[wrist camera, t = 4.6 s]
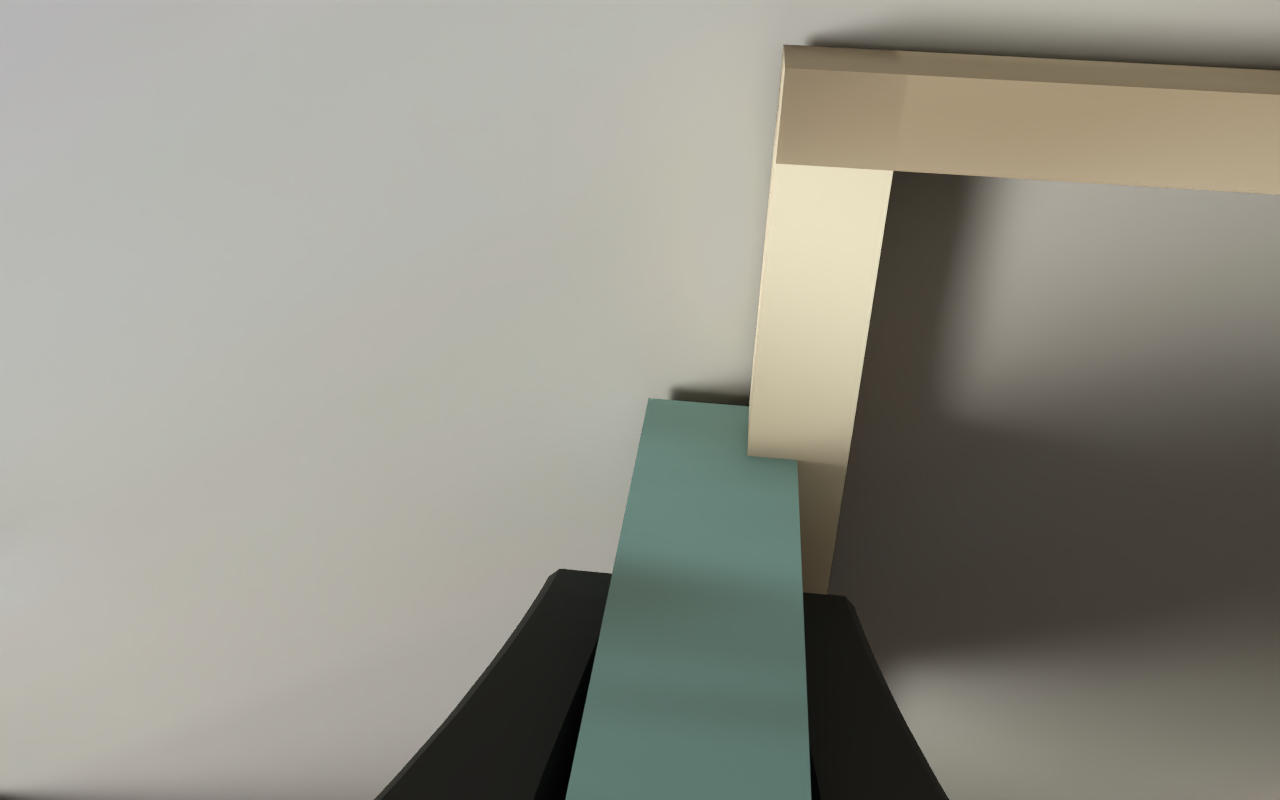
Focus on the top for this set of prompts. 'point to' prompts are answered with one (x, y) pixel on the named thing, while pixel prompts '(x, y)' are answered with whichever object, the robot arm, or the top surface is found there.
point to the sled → (841, 384)
